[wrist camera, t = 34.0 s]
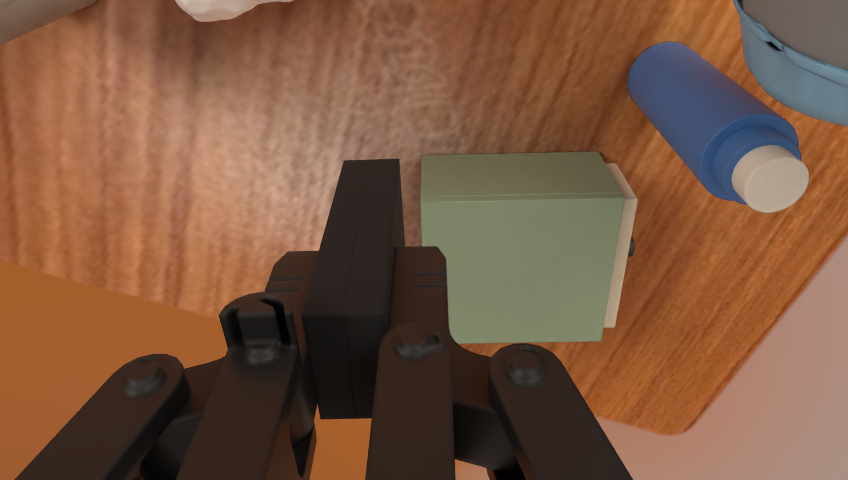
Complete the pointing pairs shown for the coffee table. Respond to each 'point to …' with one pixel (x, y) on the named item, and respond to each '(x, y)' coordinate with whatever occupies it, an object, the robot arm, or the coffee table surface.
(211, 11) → the white sculpted piece
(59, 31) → the coffee table surface
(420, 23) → the coffee table surface
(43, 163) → the coffee table surface
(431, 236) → the cabinet
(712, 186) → the bottle
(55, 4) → the thermos bottle
